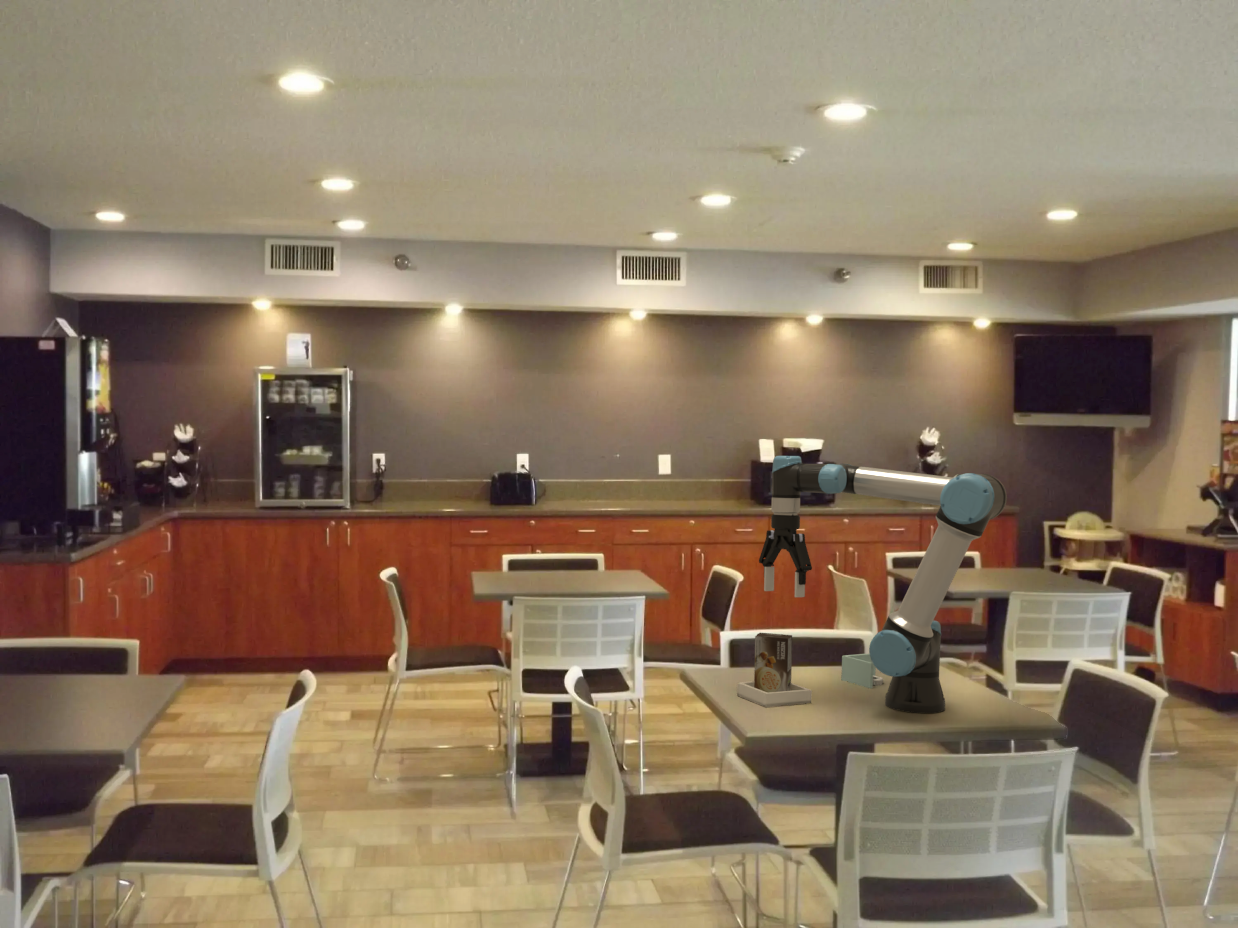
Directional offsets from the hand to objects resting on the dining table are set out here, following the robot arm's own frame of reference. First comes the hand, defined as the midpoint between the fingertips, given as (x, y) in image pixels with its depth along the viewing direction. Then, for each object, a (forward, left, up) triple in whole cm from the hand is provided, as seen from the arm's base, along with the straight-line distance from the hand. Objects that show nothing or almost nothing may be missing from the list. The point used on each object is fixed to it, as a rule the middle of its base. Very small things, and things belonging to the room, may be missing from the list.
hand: (784, 593), depth 300 cm
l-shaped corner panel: (+8, -36, -28) cm, 47 cm away
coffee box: (-1, +3, -27) cm, 27 cm away
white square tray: (-2, +3, -28) cm, 28 cm away
